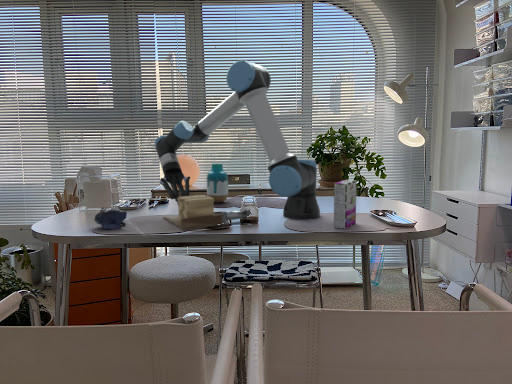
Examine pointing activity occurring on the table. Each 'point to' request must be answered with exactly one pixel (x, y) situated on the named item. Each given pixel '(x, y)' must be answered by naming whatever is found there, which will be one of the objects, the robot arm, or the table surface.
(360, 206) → the table surface
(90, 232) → the table surface
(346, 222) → the candy bar box
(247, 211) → the winch
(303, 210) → the robot arm
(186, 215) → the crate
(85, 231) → the table surface
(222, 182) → the vase
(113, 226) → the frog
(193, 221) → the brown flat slab
